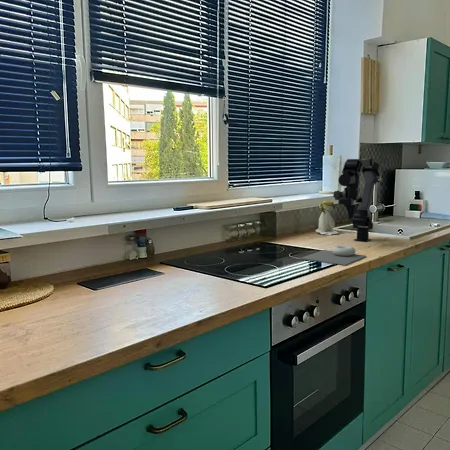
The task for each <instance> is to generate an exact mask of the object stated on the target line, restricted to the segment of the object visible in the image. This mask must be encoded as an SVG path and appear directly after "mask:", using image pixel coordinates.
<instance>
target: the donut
mask: <svg viewBox="0 0 450 450" xmlns="http://www.w3.org/2000/svg"><path fill="white" fill-rule="evenodd" d="M331 251H332V253H333V254H335V255H338V256H351V255H354V254H356V252H357V251H356V248H355V247H354V246H351V245H343V244H342V245H341V244H339V245H335V246H333V247H332V248H331Z"/></svg>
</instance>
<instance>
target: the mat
mask: <svg viewBox="0 0 450 450" xmlns="http://www.w3.org/2000/svg"><path fill="white" fill-rule="evenodd" d="M365 258H367V255H363V254H357V253H355V254H354V255H351V256H338V255H335V254H333V253H332V250H330V249H329V250H328V249H323V250H319V251H317V252H314V253H311V254H308V255H305V256H302V257H300V259H301V260H307V261H312V262H317V261H318V262H317V263H324V262H326V263H325V264H330V263H333V264H332V265H336V264H337V266H343V267H346V266H349V265H351V264H353V263H356V262H358V261H360V260H362V259H365Z"/></svg>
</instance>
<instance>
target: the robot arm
mask: <svg viewBox="0 0 450 450" xmlns="http://www.w3.org/2000/svg"><path fill="white" fill-rule="evenodd" d="M361 173H362V176H363V180H364V187H363V189H362V190H363V191H362V195H361V196H359V191H361V188H360V177H361ZM381 176H382V168H381V166H380V164H379V163H377V162H376V161H375V159H374V158H373V157H363V158H347V159H346V161H345V162H344V164H343V168H342V171H341V174H340V175H339V177H338V183H339V185H340V186H342V187H344V189H343V190H342V191H339V190H336V191H333V194H332V195H333V196H332V197H333V198H334V200H335V201H338V202H337V203H338V205H343V206H344V207H345V208H346V211H347V214H348V215H347V216H348V219H351V220H352V229H356V238H355V239H353V241H358V242H369V241H371V240H372V238H369V234H370V233H369V231H370V230H373V228H374V223H373V220H372V215H371V212H370V207H371V202H372V198H373V193H374V189H375V185H376V184H377V183H378V182H379V181H380V179H381V178H380V177H381Z"/></svg>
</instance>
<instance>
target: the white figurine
mask: <svg viewBox="0 0 450 450" xmlns="http://www.w3.org/2000/svg"><path fill="white" fill-rule="evenodd" d="M318 208H319V209H320V211H321V213H320V216H319V218H318V228H317V229H315V232H316V233H317V234H318V233H319V234H321V235H326V236H332V235H336V234H340V232H339V231H336V229H334V228H335V227H336V220H334V217H332V214H331V213H330V211H332V210H335V209H336V208H337V205H335V203H334V202H333V201H331V200H323V201H321V202H320V203H319V204H318Z"/></svg>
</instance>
